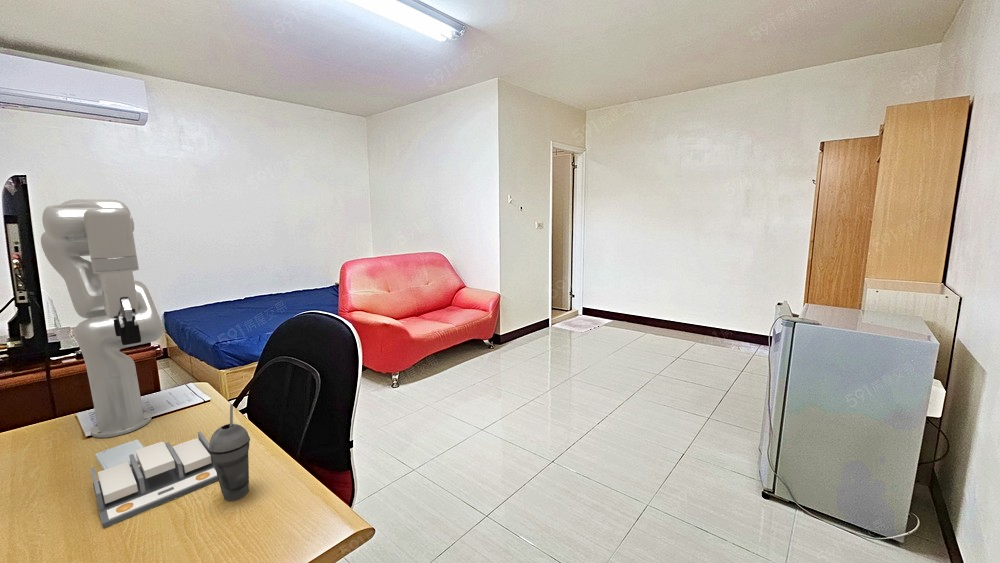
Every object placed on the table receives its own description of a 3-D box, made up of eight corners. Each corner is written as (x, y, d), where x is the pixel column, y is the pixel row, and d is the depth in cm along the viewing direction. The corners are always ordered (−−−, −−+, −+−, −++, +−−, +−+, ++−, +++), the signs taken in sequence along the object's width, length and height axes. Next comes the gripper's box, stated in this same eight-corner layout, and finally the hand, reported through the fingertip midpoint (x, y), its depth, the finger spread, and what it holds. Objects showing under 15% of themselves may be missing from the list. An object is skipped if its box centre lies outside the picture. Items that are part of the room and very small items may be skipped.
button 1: (99, 483, 90) (97, 472, 90) (130, 472, 94) (128, 461, 94) (105, 507, 83) (103, 495, 82) (138, 494, 87) (136, 483, 86)
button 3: (173, 456, 100) (172, 446, 99) (198, 447, 104) (197, 437, 103) (185, 476, 92) (184, 465, 92) (212, 466, 96) (210, 455, 96)
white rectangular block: (137, 460, 95) (135, 450, 94) (164, 451, 98) (163, 441, 98) (146, 482, 87) (144, 470, 87) (175, 471, 91) (174, 460, 90)
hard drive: (94, 453, 102) (106, 472, 94) (138, 438, 108) (151, 454, 101) (96, 459, 102) (107, 478, 95) (139, 444, 108) (153, 461, 101)
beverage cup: (219, 488, 90) (207, 401, 87) (258, 479, 93) (248, 395, 89) (212, 510, 83) (198, 417, 80) (253, 499, 86) (242, 409, 83)
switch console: (93, 487, 91) (89, 467, 90) (202, 448, 105) (200, 430, 105) (103, 528, 79) (98, 506, 78) (224, 477, 93) (222, 458, 93)
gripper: (88, 263, 95) (101, 335, 98) (96, 270, 84) (111, 351, 87) (131, 260, 101) (142, 328, 104) (144, 266, 89) (156, 342, 92)
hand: (128, 339), depth 95 cm, fingers open, 9 cm apart
